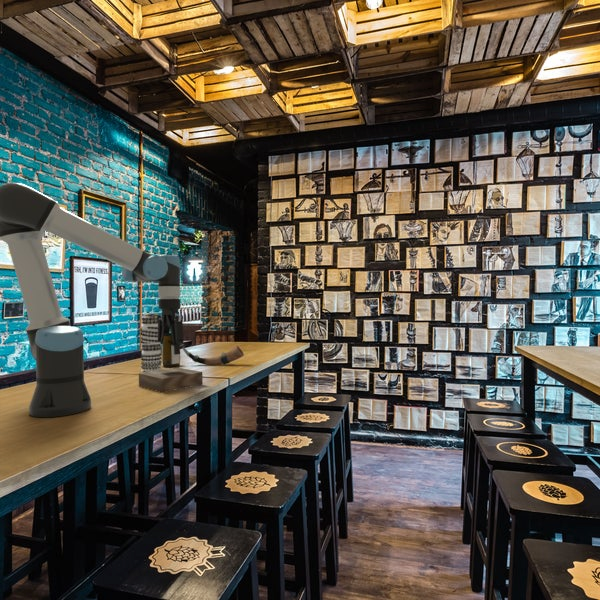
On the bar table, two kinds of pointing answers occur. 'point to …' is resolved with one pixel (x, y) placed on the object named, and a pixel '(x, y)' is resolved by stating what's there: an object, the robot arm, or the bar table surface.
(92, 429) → the bar table surface
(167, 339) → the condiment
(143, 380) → the block
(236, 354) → the drinking horn
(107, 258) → the robot arm
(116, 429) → the bar table surface
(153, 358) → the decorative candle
